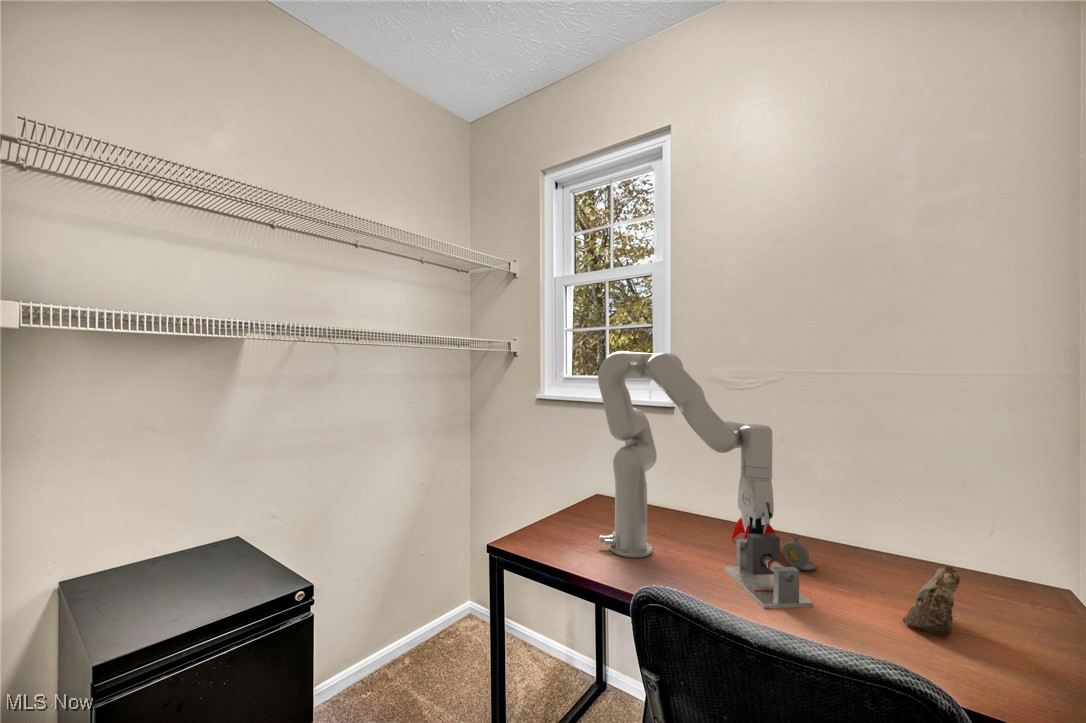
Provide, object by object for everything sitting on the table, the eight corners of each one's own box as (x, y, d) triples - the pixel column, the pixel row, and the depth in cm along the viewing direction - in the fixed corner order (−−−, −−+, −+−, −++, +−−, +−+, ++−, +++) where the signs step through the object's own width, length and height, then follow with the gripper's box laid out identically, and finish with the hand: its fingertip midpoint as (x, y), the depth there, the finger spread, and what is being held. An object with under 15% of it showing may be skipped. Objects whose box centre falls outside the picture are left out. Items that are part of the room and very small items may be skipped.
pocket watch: (812, 563, 133) (812, 528, 133) (819, 576, 125) (819, 538, 125) (780, 559, 135) (780, 524, 136) (785, 571, 127) (785, 534, 128)
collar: (752, 574, 117) (753, 538, 117) (746, 569, 120) (747, 533, 120) (779, 574, 118) (779, 537, 118) (772, 569, 121) (773, 533, 121)
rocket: (767, 542, 148) (768, 463, 149) (781, 556, 138) (782, 471, 138) (731, 540, 150) (731, 462, 150) (742, 554, 139) (742, 470, 139)
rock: (899, 569, 112) (919, 548, 101) (940, 582, 109) (964, 563, 98) (894, 632, 105) (914, 617, 94) (937, 648, 102) (963, 635, 91)
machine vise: (763, 608, 108) (764, 571, 108) (723, 570, 128) (724, 539, 128) (813, 607, 108) (813, 570, 109) (766, 569, 128) (766, 538, 128)
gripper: (729, 465, 130) (728, 532, 130) (758, 478, 115) (757, 553, 115) (754, 465, 131) (754, 531, 131) (787, 478, 116) (786, 552, 116)
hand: (755, 541), depth 123 cm, fingers closed
